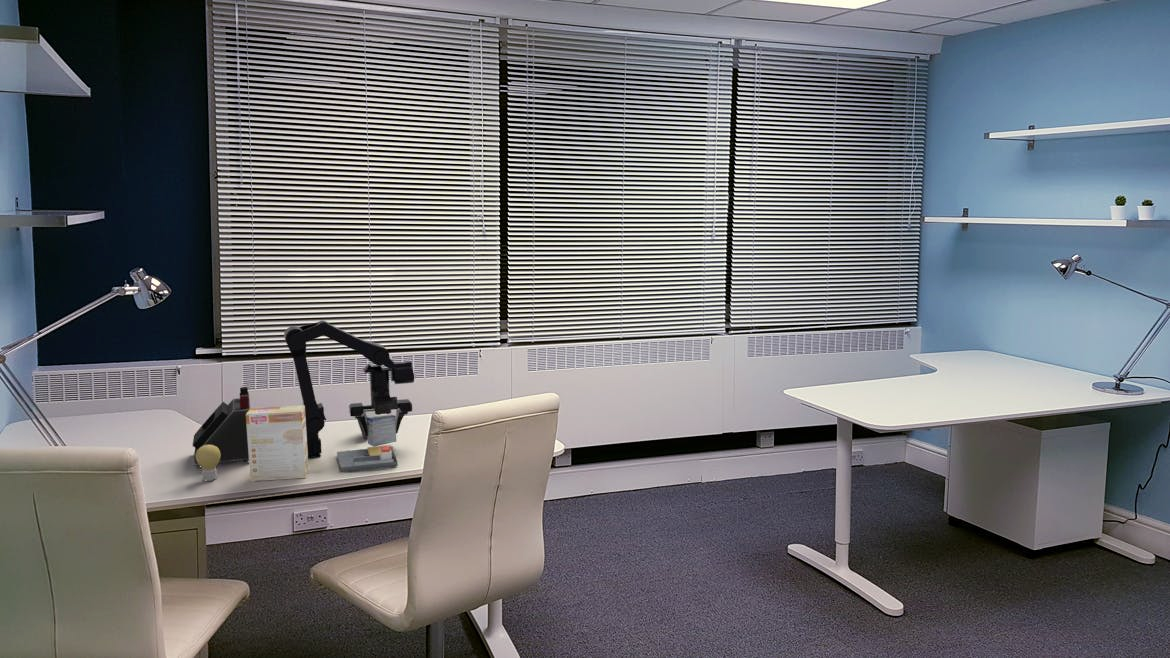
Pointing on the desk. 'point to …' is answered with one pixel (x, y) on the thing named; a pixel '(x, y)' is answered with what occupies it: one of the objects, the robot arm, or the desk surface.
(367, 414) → the electrical switch
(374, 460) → the panel
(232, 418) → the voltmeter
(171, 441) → the desk surface
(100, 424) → the desk surface
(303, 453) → the coffeecake box
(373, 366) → the robot arm
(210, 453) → the light bulb
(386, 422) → the medicine box
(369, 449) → the pad
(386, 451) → the breaker toggle
